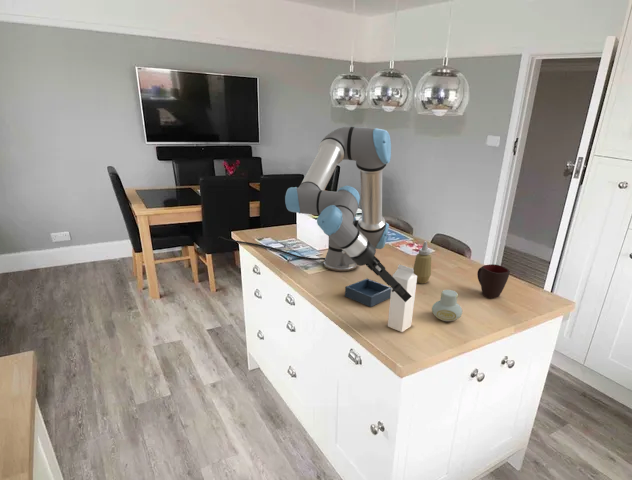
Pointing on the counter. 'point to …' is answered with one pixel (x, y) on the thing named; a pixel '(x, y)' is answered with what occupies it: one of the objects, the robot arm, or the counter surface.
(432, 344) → the counter surface
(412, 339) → the counter surface
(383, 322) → the counter surface
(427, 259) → the squeeze bottle
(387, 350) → the counter surface
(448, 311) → the air freshener
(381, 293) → the blue square tray
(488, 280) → the cup
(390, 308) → the milk
